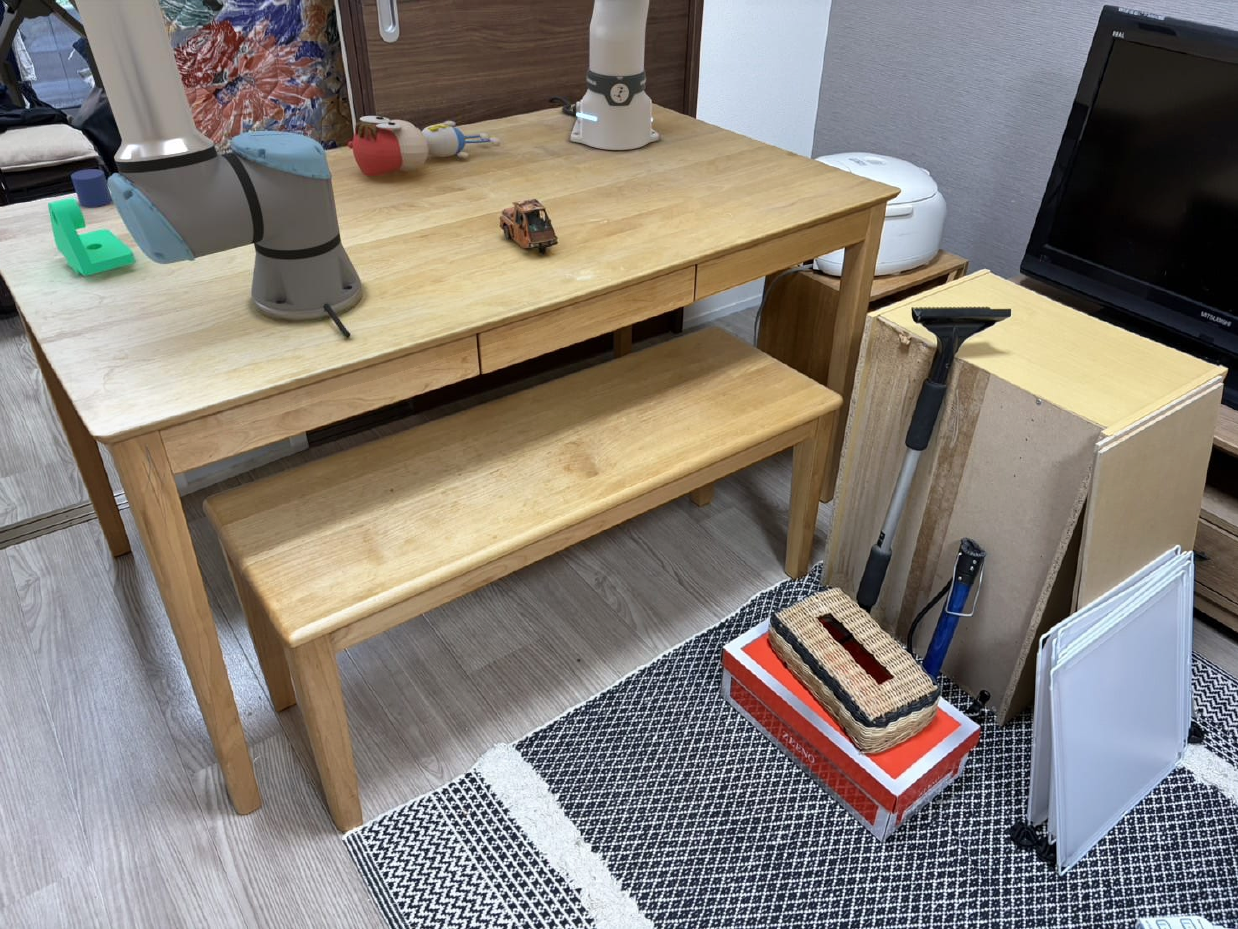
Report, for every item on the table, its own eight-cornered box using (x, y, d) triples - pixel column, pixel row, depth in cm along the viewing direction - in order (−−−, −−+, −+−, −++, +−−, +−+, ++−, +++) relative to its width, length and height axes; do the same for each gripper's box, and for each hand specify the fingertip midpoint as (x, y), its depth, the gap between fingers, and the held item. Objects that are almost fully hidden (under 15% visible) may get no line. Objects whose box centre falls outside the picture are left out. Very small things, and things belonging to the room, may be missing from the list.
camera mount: (139, 268, 141) (119, 203, 135) (86, 282, 137) (63, 216, 130) (111, 243, 148) (91, 180, 142) (60, 256, 144) (37, 191, 137)
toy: (516, 122, 178) (364, 126, 163) (515, 176, 183) (367, 184, 168) (475, 107, 191) (331, 109, 176) (475, 157, 196) (335, 163, 181)
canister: (80, 198, 163) (70, 171, 160) (111, 194, 165) (103, 167, 162) (80, 209, 159) (70, 180, 156) (112, 204, 161) (104, 177, 158)
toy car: (524, 226, 158) (523, 186, 153) (566, 250, 150) (565, 209, 146) (492, 235, 154) (490, 194, 150) (533, 260, 147) (532, 218, 143)
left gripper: (82, -62, 148) (121, 77, 161) (-88, -45, 132) (-29, 108, 145) (107, -57, 145) (146, 84, 158) (-64, -39, 129) (-6, 118, 141)
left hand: (62, 96), depth 151 cm, fingers open, 13 cm apart
